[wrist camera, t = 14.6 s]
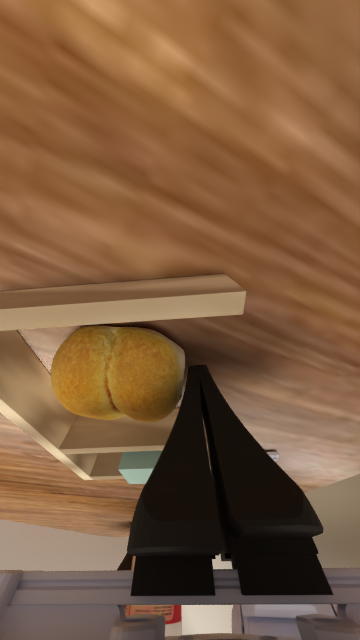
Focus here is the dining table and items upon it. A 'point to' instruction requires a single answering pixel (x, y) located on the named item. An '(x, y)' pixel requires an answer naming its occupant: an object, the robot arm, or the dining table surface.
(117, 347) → the bread roll
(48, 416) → the organiser frame
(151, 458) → the teal block
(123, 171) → the dining table surface
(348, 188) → the dining table surface
